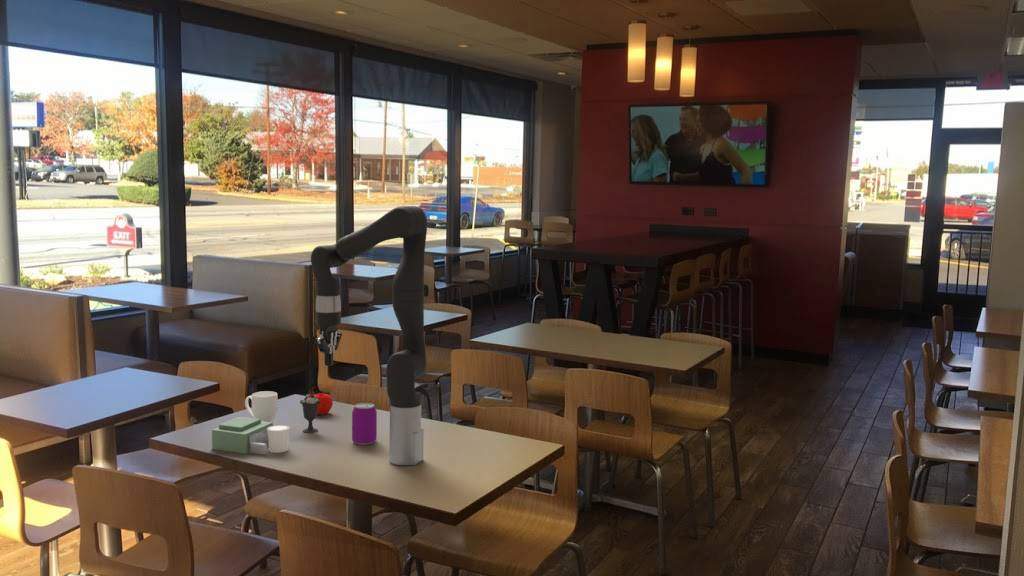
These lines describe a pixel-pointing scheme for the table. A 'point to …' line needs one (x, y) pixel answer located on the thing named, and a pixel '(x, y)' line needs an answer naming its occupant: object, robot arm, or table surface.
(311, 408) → the sundae
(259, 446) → the chute bracket
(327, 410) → the apple
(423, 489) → the table surface
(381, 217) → the robot arm
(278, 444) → the white cup
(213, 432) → the green drawer box
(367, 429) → the beverage can
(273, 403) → the mug
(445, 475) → the table surface
